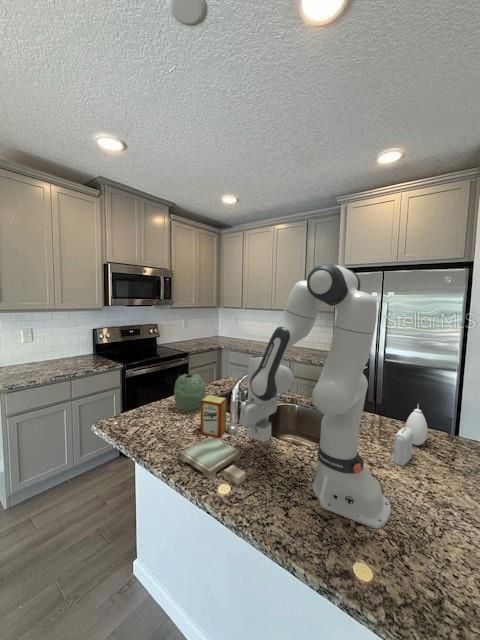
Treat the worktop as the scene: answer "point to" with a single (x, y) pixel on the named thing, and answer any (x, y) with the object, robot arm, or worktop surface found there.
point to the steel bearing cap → (232, 428)
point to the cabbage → (189, 391)
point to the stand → (209, 456)
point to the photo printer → (403, 446)
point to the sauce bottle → (417, 426)
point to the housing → (261, 431)
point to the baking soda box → (213, 416)
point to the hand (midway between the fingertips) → (259, 430)
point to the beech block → (235, 475)
